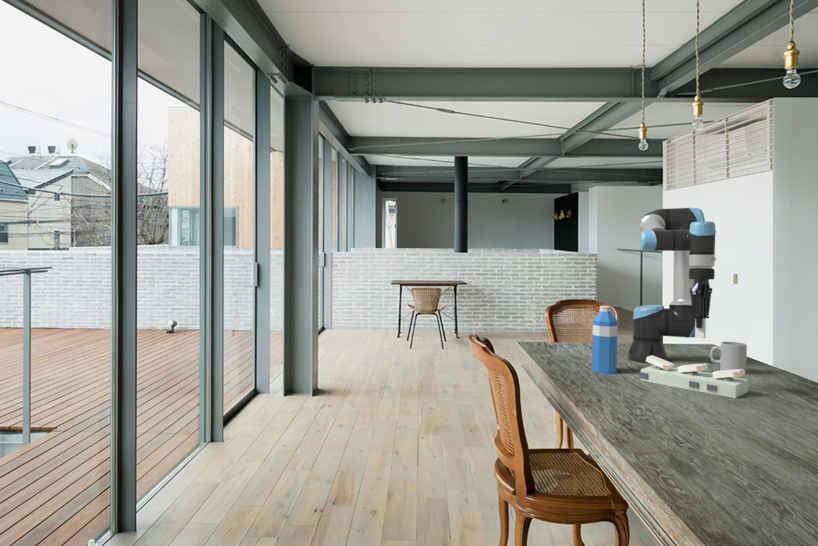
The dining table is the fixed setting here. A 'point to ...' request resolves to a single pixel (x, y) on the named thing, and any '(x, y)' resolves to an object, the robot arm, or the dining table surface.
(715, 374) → the rocker right
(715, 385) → the switch unit
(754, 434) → the dining table surface
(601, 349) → the water bottle
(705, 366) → the rocker middle
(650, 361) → the block
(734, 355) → the mug
